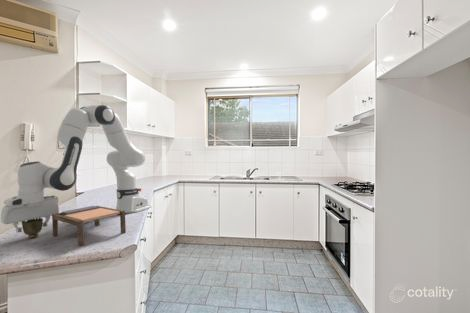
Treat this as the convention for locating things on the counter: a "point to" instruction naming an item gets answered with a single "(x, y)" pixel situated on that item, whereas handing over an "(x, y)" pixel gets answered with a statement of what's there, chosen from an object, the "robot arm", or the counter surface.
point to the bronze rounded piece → (32, 227)
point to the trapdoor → (89, 213)
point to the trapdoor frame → (79, 224)
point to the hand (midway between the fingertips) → (32, 229)
